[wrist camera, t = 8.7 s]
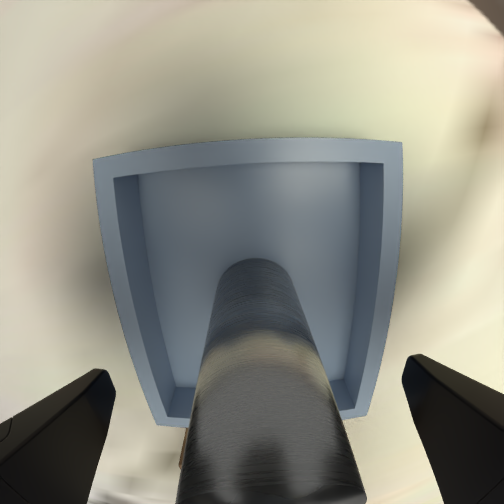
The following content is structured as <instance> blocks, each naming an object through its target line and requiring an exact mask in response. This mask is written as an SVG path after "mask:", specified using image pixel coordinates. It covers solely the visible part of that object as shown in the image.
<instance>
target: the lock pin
mask: <svg viewBox="0 0 504 504" xmlns="http://www.w3.org/2000/svg"><path fill="white" fill-rule="evenodd" d="M366 501H367V496H366V493H365V490H364V487H363V483H362V480H361V477H360V474H359V471H358V467H357V464H356V461H355V458H354V455H353V452H352V449H351V446H350V443H349V440H348V437H347V434H346V431H345V428H344V425H343V422H342V419H341V416H340V413H339V410H338V407H337V404H336V401H335V398H334V395H333V392H332V389H331V387H330V384H329V381H328V378H327V375H326V372H325V369H324V367H323V364H322V361H321V358H320V355H319V353H318V350H317V347H316V344H315V341H314V339H313V336H312V333H311V330H310V328H309V325H308V322H307V320H306V317H305V314H304V311H303V309H302V306H301V303H300V301H299V298H298V295H297V293H296V290H295V287H294V285H293V282H292V279H291V278H290V276H289V274H288V273H287V272H286V270H285V269H284V268H282V267H281V266H280V265H278V264H277V263H275V262H273V261H270V260H267V259H262V258H250V259H245V260H242V261H239V262H237V263H235V264H233V265H232V266H230V267H229V268H228V269H227V270H226V271H225V272H224V273H223V275H222V276H221V278H220V280H219V282H218V285H217V289H216V294H215V298H214V303H213V308H212V312H211V317H210V322H209V326H208V331H207V336H206V341H205V345H204V350H203V355H202V360H201V365H200V370H199V375H198V380H197V385H196V390H195V395H194V401H193V406H192V411H191V416H190V422H189V427H188V433H187V438H186V444H185V449H184V455H183V461H182V467H181V473H180V479H179V485H178V491H177V497H176V503H175V504H365V503H366Z"/></svg>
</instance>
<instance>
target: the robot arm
mask: <svg viewBox="0 0 504 504" xmlns="http://www.w3.org/2000/svg"><path fill="white" fill-rule="evenodd" d="M402 385H403V388H404V391H405V394H406V398H407V401H408V404H409V408H410V411H411V415H412V418H413V421H414V424H415V426H416V429H417V431H418V434H419V436H420V439H421V441H422V444H423V446H424V449H425V451H426V454H427V457H428V459H429V462H430V464H431V467H432V470H433V473H434V475H435V478H436V481H437V484H438V487H439V490H440V493H441V496H442V499H443V502H444V504H504V394H502V393H500V392H498V391H496V390H494V389H492V388H490V387H488V386H486V385H483V384H481V383H479V382H477V381H475V380H473V379H471V378H469V377H467V376H465V375H463V374H461V373H459V372H457V371H455V370H453V369H451V368H449V367H447V366H445V365H443V364H441V363H438V362H436V361H434V360H432V359H430V358H428V357H426V356H424V355H422V354H416V355H411V356H409V357H408V358H407V361H406V364H405V368H404V371H403V374H402ZM115 397H116V391H115V387H114V385H113V383H112V380H111V378H110V375H109V373H108V372H107V371H106V370H104V369H93V370H91V371H89V372H88V373H86V374H84V375H83V376H81V377H79V378H78V379H76V380H74V381H73V382H71V383H69V384H68V385H66V386H64V387H63V388H61V389H59V390H58V391H56V392H54V393H52V394H51V395H49V396H47V397H46V398H44V399H42V400H41V401H39V402H37V403H35V404H34V405H32V406H30V407H29V408H27V409H25V410H23V411H22V412H20V413H18V414H16V415H15V416H13V418H12V417H11V418H9V419H8V420H6V421H4V422H2V423H1V424H0V504H87V501H88V497H89V494H90V490H91V486H92V483H93V479H94V476H95V472H96V469H97V466H98V462H99V459H100V456H101V453H102V450H103V446H104V443H105V440H106V437H107V433H108V429H109V424H110V419H111V415H112V410H113V406H114V401H115Z"/></svg>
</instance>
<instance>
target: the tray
mask: <svg viewBox="0 0 504 504" xmlns="http://www.w3.org/2000/svg"><path fill="white" fill-rule="evenodd" d="M93 169H94V180H95V190H96V199H97V207H98V215H99V222H100V228H101V235H102V241H103V246H104V252H105V257H106V262H107V267H108V272H109V277H110V281H111V286H112V290H113V294H114V298H115V302H116V306H117V310H118V314H119V318H120V321H121V325H122V329H123V332H124V335H125V339H126V342H127V345H128V349H129V352H130V355H131V358H132V361H133V364H134V367H135V370H136V373H137V376H138V379H139V381H140V384H141V387H142V390H143V392H144V395H145V398H146V400H147V403H148V405H149V408H150V410H151V413H152V415H153V417H154V420H155V422H156V425H161V426H171V427H185V428H188V427H189V422H190V416H191V411H192V406H193V401H194V395H195V390H196V385H197V380H198V375H199V370H200V365H201V360H202V355H203V350H204V345H205V341H206V336H207V331H208V326H209V322H210V317H211V312H212V308H213V303H214V298H215V294H216V289H217V285H218V282H219V280H220V278H221V276H222V275H223V273H224V272H225V271H226V270H227V269H228V268H229V267H230V266H232V265H233V264H235V263H237V262H239V261H242V260H245V259H250V258H262V259H267V260H270V261H273V262H275V263H277V264H278V265H280V266H281V267H282V268H284V269H285V270H286V272H287V273H288V274H289V276H290V278H291V279H292V282H293V285H294V287H295V290H296V293H297V295H298V298H299V301H300V303H301V306H302V309H303V311H304V314H305V317H306V320H307V322H308V325H309V328H310V330H311V333H312V336H313V339H314V341H315V344H316V347H317V350H318V353H319V355H320V358H321V361H322V364H323V367H324V369H325V372H326V375H327V378H328V381H329V384H330V387H331V389H332V392H333V395H334V398H335V401H336V404H337V407H338V410H339V413H340V416H341V419H342V420H344V419H350V418H356V417H361V416H366V415H367V412H368V409H369V406H370V402H371V399H372V395H373V392H374V388H375V385H376V381H377V377H378V373H379V369H380V365H381V361H382V356H383V352H384V347H385V343H386V338H387V333H388V328H389V322H390V317H391V311H392V305H393V298H394V292H395V284H396V277H397V268H398V259H399V249H400V237H401V222H402V200H403V150H402V142H393V141H381V140H367V139H348V138H260V139H240V140H226V141H213V142H203V143H193V144H184V145H175V146H168V147H160V148H153V149H147V150H140V151H134V152H128V153H123V154H117V155H112V156H107V157H102V158H97V159H93Z"/></svg>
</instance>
